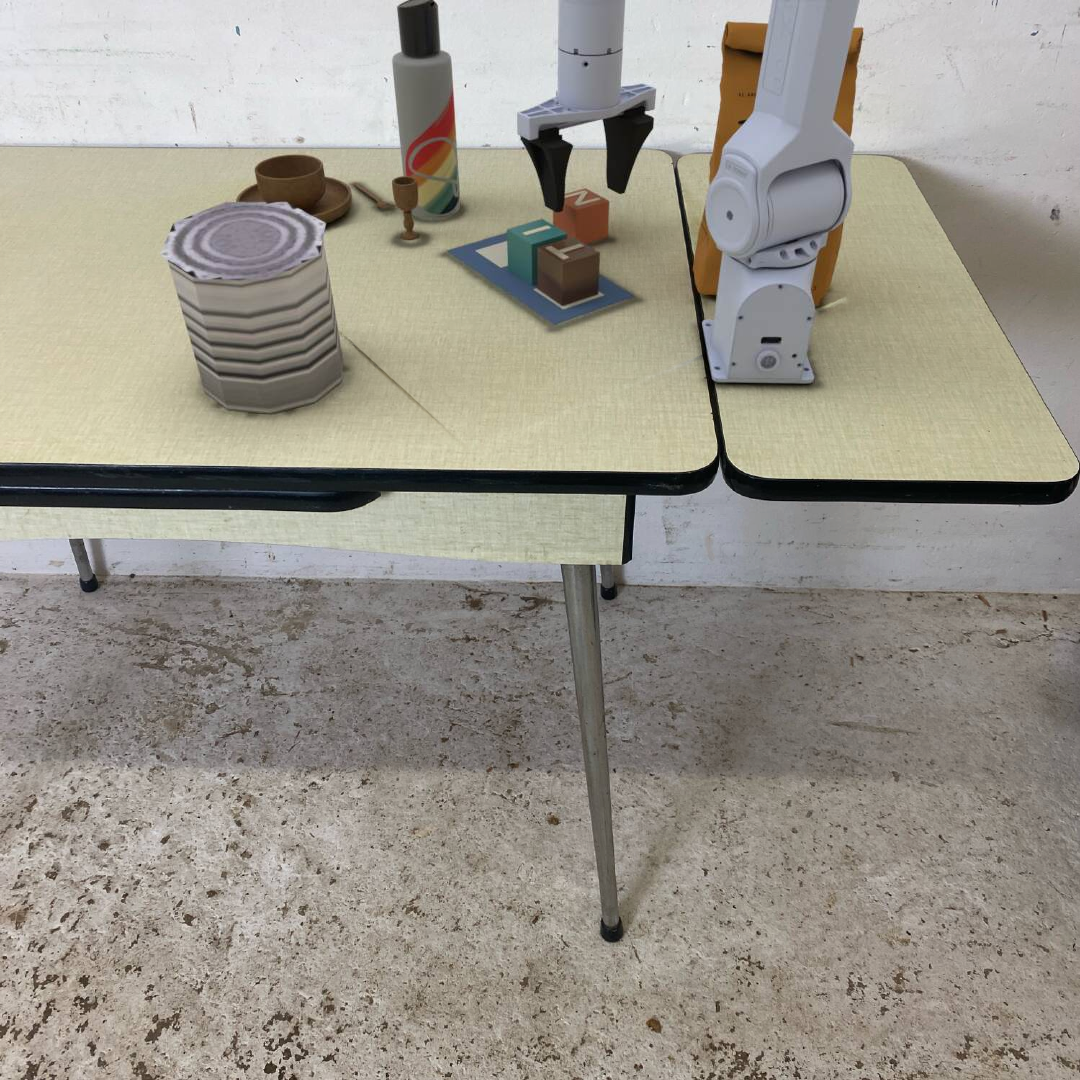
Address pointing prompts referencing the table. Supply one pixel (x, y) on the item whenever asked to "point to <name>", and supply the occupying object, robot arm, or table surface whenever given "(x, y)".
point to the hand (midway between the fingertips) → (585, 199)
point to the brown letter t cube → (568, 271)
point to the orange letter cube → (583, 216)
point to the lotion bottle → (426, 110)
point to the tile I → (529, 247)
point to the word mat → (493, 265)
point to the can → (257, 304)
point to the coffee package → (736, 107)
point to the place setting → (321, 190)
